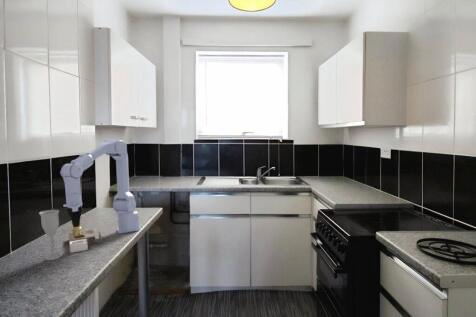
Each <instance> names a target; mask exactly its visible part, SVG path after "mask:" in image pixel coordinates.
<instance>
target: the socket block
mask: <svg viewBox="0 0 476 317" xmlns="http://www.w3.org/2000/svg"><path fill="white" fill-rule="evenodd" d="M97 231H98V234H99V238H98V239H95V237H87V238H85V235H86V234H92V233H93V229H89V230H81V235H80V236H76V237H74V236H73V232H70V233H68V241H69V243H70V241H76V240H82V239H87V245H88V246H89V245H95V244H100V243H102V234H101V232H100V229H99V228H97Z"/></svg>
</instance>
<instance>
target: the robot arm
mask: <svg viewBox="0 0 476 317" xmlns="http://www.w3.org/2000/svg"><path fill="white" fill-rule="evenodd" d="M127 145H128V144H127V143H126V142H125V141H124V140H123V139H117V140H104V141H102V142H100V143H99V145H98V146H97V147H95V148H94V149H93V150H91V151H89V153H80V154H79V156H78V157H77V158H76V159H73V160H71V161H70V162H69V163H65V164H63V165H62V167H61V169H60V171H59V173H60V176H61V177H62V180H63V182H64V187H65V188H64V189H65V190H64V191H65V199H66V200H65V203H66V204H63V207H64V208H67V209H66V211H67V214H68V215H69V217H70V220H71V225H72V224H73V227H79V225H80V226H81V216H82V213H83V210H84V209H83V201H82V189H81V186H82V185H81V177H82V175H83V172H84V171H86V170H87V169H89V168H90V167H91V166H92V165H93V164H94V161H95V160H97V159H98V158H100V157H101V156H103V155H108V156H110V157H111V158H113V159H114V160H115V165H116V186H117V187H116V189H117V192H116V194H115V195H114V196H113V203H112V208H113V210H114V211H115V213H116V214H117V216H116V217H117V226H118V227H117V229H116V231H117V233H118V234H125V233H132V232H136V231H137V232H138V231H140V222H139V213H138V211H137V210H136V209H137V201H136V200H135V194H134V195H133V193H132V192H130V176H129V155H128V148H127V147H128V146H127Z"/></svg>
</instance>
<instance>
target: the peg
mask: <svg viewBox="0 0 476 317" xmlns="http://www.w3.org/2000/svg"><path fill="white" fill-rule="evenodd" d="M69 231H70V232H72V233H73V236H74V237H76V236H80V235H81V231H83V226H82V225H81V224H80V225H79V227H73V224H72V223H71V227H70V228H69Z"/></svg>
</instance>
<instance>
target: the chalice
mask: <svg viewBox="0 0 476 317" xmlns="http://www.w3.org/2000/svg"><path fill="white" fill-rule="evenodd" d="M38 213H39V216H40V221H41V228H42V229H43V232H44V233H45V234H46V236H49V238H50V240H49V242H50V245H49V246H50V248H51V249H50V251H49V252H48V253H47V255H46V259H45V260H47V261H53V260H57V259H60V258H62V257H61V256H62V255H61V254H60V253H59V251H58V250H56V249H55V246H56V244H55V242H54V241H55V239H54V236H55V235H56V233H57V231H58V229H59V225H60V219H59V213H60V210H59V209H51V210H50V209H48V210H43V211H40V212H38Z"/></svg>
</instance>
